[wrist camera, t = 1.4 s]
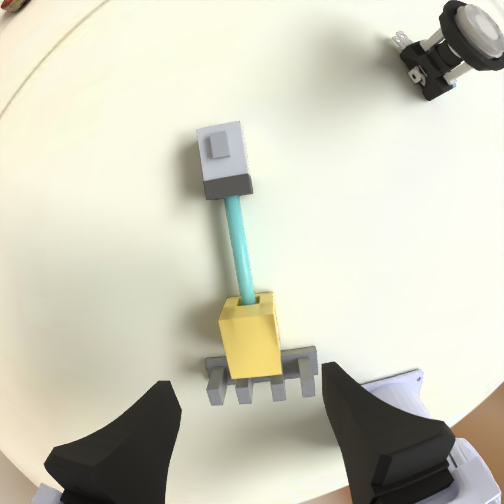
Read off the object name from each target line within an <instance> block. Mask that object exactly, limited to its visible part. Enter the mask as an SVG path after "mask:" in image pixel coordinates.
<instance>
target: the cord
mask: <svg viewBox="0 0 504 504" xmlns="http://www.w3.org/2000/svg"><path fill="white" fill-rule="evenodd" d="M224 203H225V209H226V215H227V221H228V227H229V233H230V239H231V245H232V251H233V257H234V263H235V268H236V274H237V280H238V285H239V291H240V297H241V302H242V306H243V305H251V304H256V299H255V293H254V287H253V281H252V274H251V268H250V262H249V256H248V250H247V244H246V238H245V231H244V225H243V219H242V213H241V207H240V200H239V195H235V196H229V197H224ZM261 377H264V376H261Z"/></svg>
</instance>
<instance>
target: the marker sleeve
mask: <svg viewBox="0 0 504 504" xmlns="http://www.w3.org/2000/svg"><path fill="white" fill-rule="evenodd" d="M255 299H256V304H251V305H243V306H242V302H241V297H240V296H237V297H228V298H227V300H226V302H225V305H224V307H223V309H222V312H221V314H220V317H219V319H218V322H219V327H220V331H221V336H222V340H223V345H224V349H225V353H226V358H227V362H228V366H229V370H230V374H231V378H232V379H238V378H250V377H261V376H270V375H279V374H282V366H281V352H280V341H279V334H278V327H277V320H276V313H275V306H274V299H273V292H267V293H260V294H255Z"/></svg>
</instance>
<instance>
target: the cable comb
mask: <svg viewBox="0 0 504 504" xmlns="http://www.w3.org/2000/svg"><path fill="white" fill-rule="evenodd" d="M280 352H281V366H282V374H279V375H270V376H264V377H250V378H238V379H232V378H231V374H230V370H229V366H228V362H227V358H226V357H217V358H207V359H206V362H205V365H206V369H207V372H208V376H209V379H210V380H209V383H208V386H207V389H206V390H207V394H208V397H209V400H210V403H211V405H223V402H224V398H225V393H226V389H227V385H234V384H236V388H235V389H236V393H237V397H238V401H239V404H251V403H252V393H253V383H258V382H268V381H271V390H272V396H273V401H282V400H286V396H285V382H284V380H285V379H293V378H300V382H301V388H302V395H303V398H305V397H311V396H315V383H314V376H313V375H318V364H317V351H316V347H315V346H312V347H306V348H299V349H292V350H285V351H280Z"/></svg>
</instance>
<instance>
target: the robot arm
mask: <svg viewBox="0 0 504 504" xmlns="http://www.w3.org/2000/svg"><path fill="white" fill-rule="evenodd" d="M423 375H424V372H423V371H422V369H418V370H415V371H412V372H409V373H405V374H402V375H398V376H395V377H391V378H388V379H384V380H380V381H376V382H372V383H368V384H364V385H360V384H359V383H357V382H356V381H355V380H354V379H353V378H351V377H350V376H349V375H348V374H347V373H346V372H345V371H344V370H343V369H342V368H341V367H340V366H339V365H338V364H337V363H336V362H329V363H324V364H322V396H323V400H324V404H325V408H326V412H327V415H328V418H329V420H330V423H331V425H332V428H333V431H334V433H335V436H336V438H337V441H338V444H339V446H340V449H341V452H342V456H343V460H344V464H345V468H346V472H347V477H348V482H349V486H350V491H351V497H352V502H353V504H500V503H501V500H500V497H501V491H500V489H499V486H498V485H497V483H496V482H495V480H494V478H493V476H492V474H491V472H490V470H489V469H488V467H487V466H486V464H485V462H484V461H483V459H482V458H481V457H480V455H479V454H478V453H477V451H476V450H475V449H474V448H473V447H472V446H471V445H470V443H468V441H466V440H465V439H464V438H458V439H457V438H455V436H454V434H453V433H452V431H451V430H450V428H449V427H448V426H447V425H446V424H445V422H444V421H440V420H434V419H433V418H432V416H431V414H430V413H429V411H428V410H427V408H426V407H425V405H424V404H423V402H422V401H421V399H420V398H419V395H420V390H421V385H422V380H423ZM417 378H418V379H417ZM181 412H182V409H181V407H180V405H179V402H178V400H177V397H176V395H175V393H174V390H173V388H172V385H171V383H170V381H158V382H157V383H156V384H154V385H153V386H152V387H151V388H150V389H149V390H148V391H147V392H146V393H145V394H144V395H143V396H142V397H141V398H140V399H139V400H138V401H137V402H136V403H135V404H134V405H132V406H131V407H130V408H129V409H128V410H127V411H125V412H124V413H123V414H122V415H121V416H119V417H118V418H117V419H115V420H114V421H113V422H111V423H110V424H108V425H107V426H105V427H103V428H102V429H100V430H98V431H96V432H94V433H92V434H90V435H88V436H86V437H84V438H82V439H79V440H77V441H74V442H71V443H68V444H64V445H61V446H57V447H54V448H53V450H52V451H51V453H50V454H49V456H48V458H47V459H46V461H45V463H44V466H45V469H46V470H47V472H48V473H49V474H50V475H51V476H52V477H53V478H54V479H55V480H56V481H57V482H58V483H59V484H60V485H61V486H62V487H63V488H64V489H65V490H64V492H63V493H61V492H60V491H58V490H56V489H54V488H52V487H50V486H47V485H45V484H43V483H41V485H40V487H39V488H38V491H37V492H36V494H35V496H34V498H33V500H32V501H31V503H30V504H165V492H166V481H167V474H168V467H169V463H170V459H171V455H172V452H173V448H174V445H175V441H176V438H177V434H178V431H179V427H180V420H181Z"/></svg>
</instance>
